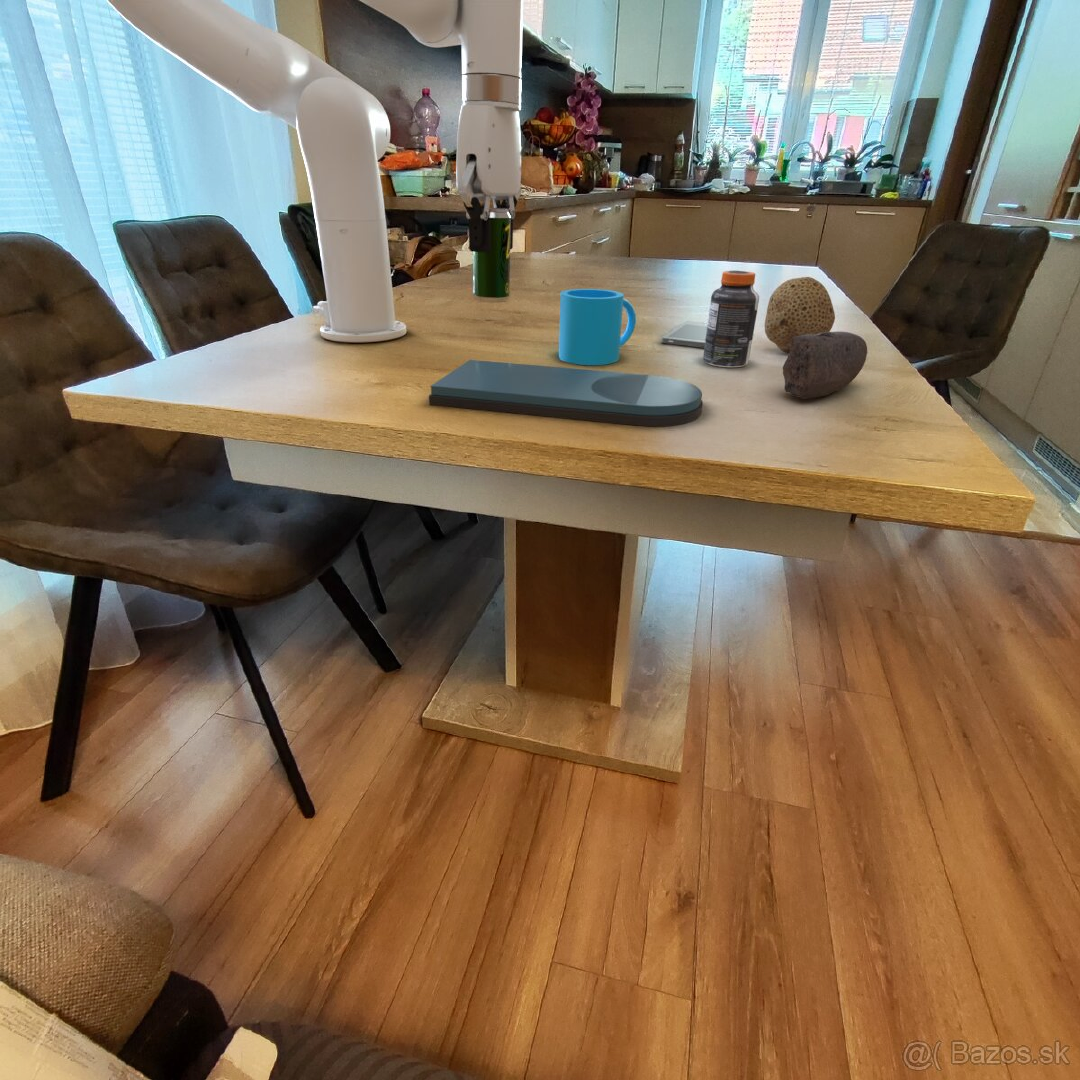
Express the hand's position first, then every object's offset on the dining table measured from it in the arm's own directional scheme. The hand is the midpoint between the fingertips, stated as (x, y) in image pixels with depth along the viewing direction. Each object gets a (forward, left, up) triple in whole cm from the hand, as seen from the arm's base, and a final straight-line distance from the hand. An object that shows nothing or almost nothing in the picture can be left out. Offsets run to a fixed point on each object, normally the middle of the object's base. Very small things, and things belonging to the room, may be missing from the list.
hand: (491, 248), depth 90 cm
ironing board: (+23, -23, -12) cm, 35 cm away
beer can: (0, 0, -7) cm, 7 cm away
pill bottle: (+35, +2, -12) cm, 37 cm away
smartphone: (+28, +16, -12) cm, 34 cm away
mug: (+19, -3, -12) cm, 22 cm away
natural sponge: (+42, +13, -12) cm, 45 cm away
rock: (+48, -6, -12) cm, 49 cm away
